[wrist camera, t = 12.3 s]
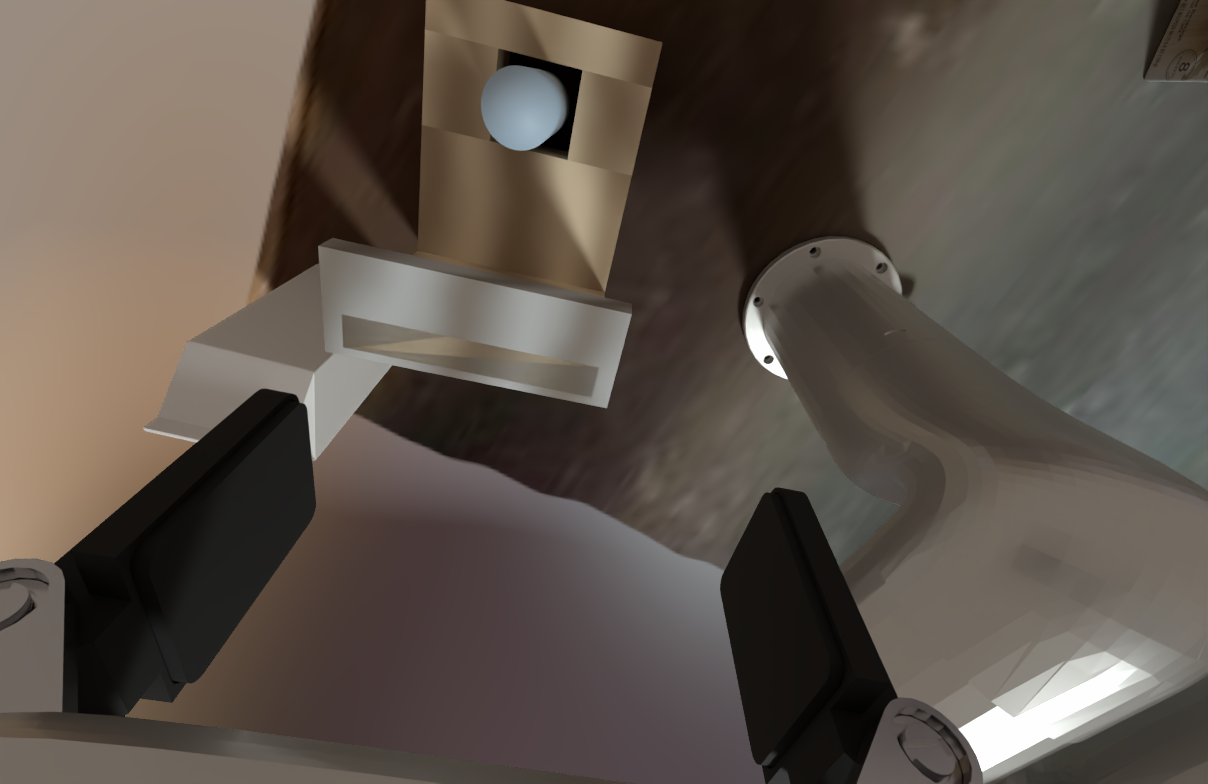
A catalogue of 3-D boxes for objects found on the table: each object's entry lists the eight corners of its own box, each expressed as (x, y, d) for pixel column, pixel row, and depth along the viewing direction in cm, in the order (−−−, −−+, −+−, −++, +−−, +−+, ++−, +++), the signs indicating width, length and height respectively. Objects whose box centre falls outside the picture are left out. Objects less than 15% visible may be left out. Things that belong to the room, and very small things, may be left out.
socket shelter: (673, 50, 34) (707, 29, 21) (611, 305, 44) (606, 408, 30) (431, -15, 33) (296, -83, 19) (420, 264, 42) (325, 351, 29)
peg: (575, 77, 35) (561, 76, 27) (565, 141, 37) (549, 158, 29) (517, 63, 35) (484, 56, 26) (510, 127, 37) (477, 141, 28)
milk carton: (317, 262, 43) (130, 374, 26) (404, 285, 43) (275, 408, 27) (318, 337, 46) (153, 477, 30) (398, 357, 47) (281, 504, 31)
